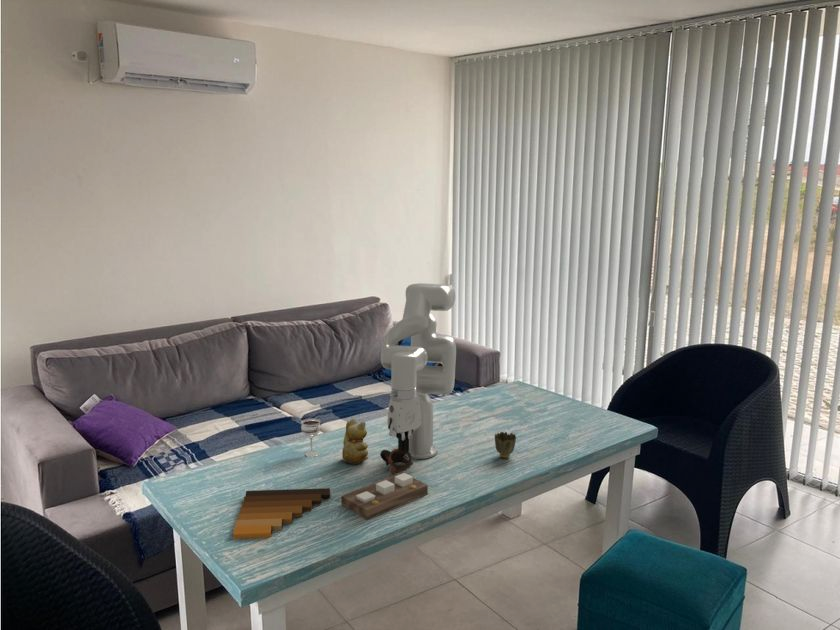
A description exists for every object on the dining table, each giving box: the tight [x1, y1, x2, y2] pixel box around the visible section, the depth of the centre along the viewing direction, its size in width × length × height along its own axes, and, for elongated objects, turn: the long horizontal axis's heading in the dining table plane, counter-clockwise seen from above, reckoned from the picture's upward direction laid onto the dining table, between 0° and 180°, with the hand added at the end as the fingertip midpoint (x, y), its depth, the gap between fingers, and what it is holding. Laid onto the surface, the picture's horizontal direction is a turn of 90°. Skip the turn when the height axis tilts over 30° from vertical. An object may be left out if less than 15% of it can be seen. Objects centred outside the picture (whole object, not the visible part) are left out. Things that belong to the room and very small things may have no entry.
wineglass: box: [300, 417, 322, 458], centre depth 244 cm, size 7×7×12 cm
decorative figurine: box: [341, 417, 369, 465], centre depth 238 cm, size 10×8×15 cm
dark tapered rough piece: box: [494, 431, 517, 460], centre depth 243 cm, size 8×7×8 cm
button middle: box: [376, 480, 395, 495], centre depth 212 cm, size 4×4×2 cm
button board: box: [340, 472, 429, 521], centre depth 212 cm, size 12×24×3 cm, turn 133°
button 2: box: [395, 472, 414, 487], centre depth 217 cm, size 4×4×2 cm
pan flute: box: [232, 487, 331, 540], centre depth 202 cm, size 25×3×25 cm
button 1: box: [356, 491, 375, 503], centre depth 207 cm, size 4×4×2 cm
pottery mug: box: [379, 448, 414, 476], centre depth 233 cm, size 12×10×8 cm
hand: (403, 450), depth 214 cm, fingers closed
